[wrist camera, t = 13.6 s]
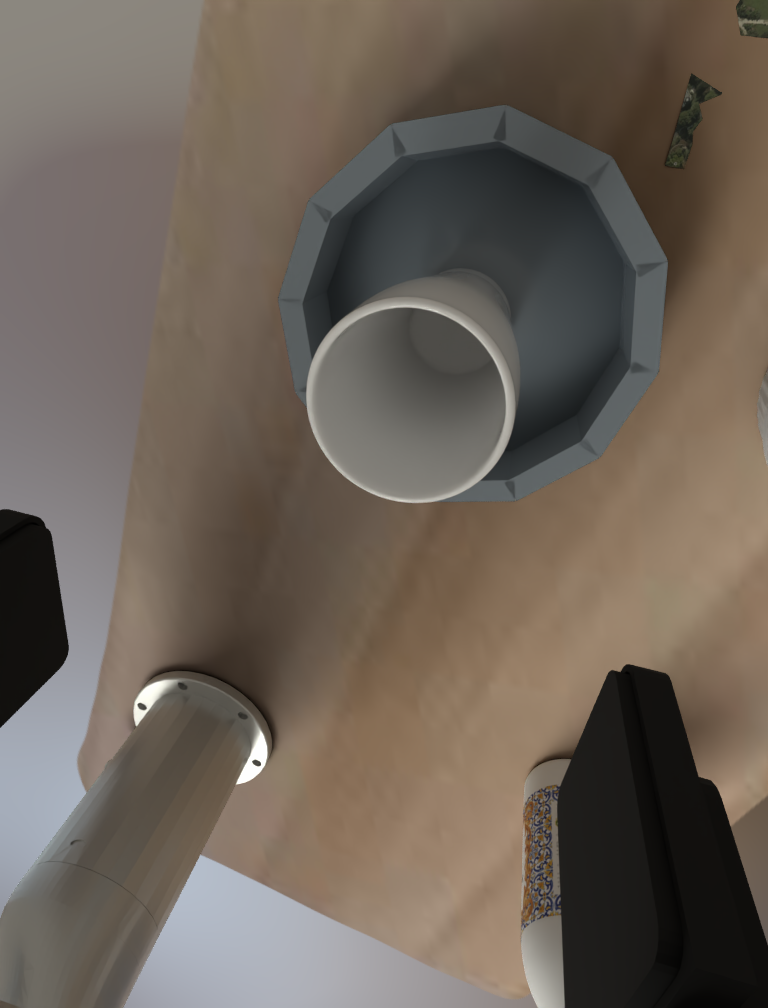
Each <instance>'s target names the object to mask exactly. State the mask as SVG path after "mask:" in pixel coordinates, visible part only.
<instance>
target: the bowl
mask: <svg viewBox="0 0 768 1008" xmlns="http://www.w3.org/2000/svg"><path fill="white" fill-rule="evenodd" d="M455 268H467V269H473V270H476V271H479V272H481V273H483V274H485V275H487V276H489V277H490V278H491V279H493V280H494V281H495V282H496V283H497V284H498V285H499V286H500V288H501V289H502V290H503V292H504V293H505V295H506V297H507V300H508V302H509V305H510V309H511V316H512V327H513V330H514V334H515V337H516V341H517V345H518V349H519V355H520V363H521V389H520V397H519V404H518V409H517V413H516V417H515V421H514V426H513V430H512V434H511V436H510V439H509V442H508V444H507V446H506V448H505V450H504V453H503V454H502V456H501V457H500V459H499V461H498V462H497V463H496V464H495V466H494V467H493V468H492V469H491V471H490V472H489V473H488V474H487V475H486V476H485V477H484V478H482V479H481V480H480V481H479V482H478V483H476V484H475V485H473V486H472V487H471V488H469V489H467V490H465V491H463V492H462V493H459V494H457V495H455V496H453V497H449V498H446V499H443V500H439V501H434V502H480V501H515V500H516V501H517V500H519V499H521V498H523V497H525V496H527V495H529V494H531V493H533V492H535V491H536V490H538V489H540V488H542V487H544V486H546V485H548V484H550V483H552V482H554V481H556V480H558V479H560V478H562V477H564V476H565V475H567V474H569V473H571V472H573V471H575V470H577V469H579V468H581V467H583V466H585V465H587V464H589V463H591V462H592V461H594V460H596V459H598V458H599V457H601V455H602V454H603V452H604V451H605V450H606V448H607V447H608V445H609V444H610V442H611V441H612V439H613V438H614V437H615V435H616V434H617V432H618V431H619V429H620V428H621V426H622V425H623V424H624V422H625V421H626V419H627V418H628V416H629V415H630V413H631V412H632V411H633V409H634V408H635V406H636V405H637V403H638V402H639V400H640V399H641V397H642V396H643V395H644V393H645V392H646V390H647V389H648V387H649V386H650V384H651V383H652V382H653V380H654V379H655V377H656V376H657V374H658V372H659V364H660V352H661V340H662V328H663V316H664V304H665V292H666V280H667V268H668V261H667V258H666V256H665V254H664V252H663V250H662V248H661V246H660V245H659V243H658V241H657V239H656V237H655V235H654V233H653V231H652V230H651V228H650V226H649V224H648V222H647V220H646V218H645V216H644V215H643V213H642V211H641V209H640V207H639V205H638V203H637V201H636V200H635V198H634V196H633V194H632V192H631V190H630V188H629V186H628V185H627V183H626V181H625V179H624V177H623V175H622V173H621V171H620V170H619V168H618V166H617V164H616V162H615V160H614V158H612V156H610V155H608V154H606V153H604V152H602V151H600V150H598V149H596V148H594V147H592V146H589V145H587V144H585V143H583V142H581V141H579V140H577V139H575V138H573V137H571V136H569V135H567V134H565V133H563V132H561V131H559V130H557V129H555V128H553V127H551V126H549V125H547V124H545V123H543V122H541V121H539V120H537V119H535V118H533V117H531V116H529V115H527V114H525V113H523V112H521V111H519V110H517V109H515V108H513V107H511V106H509V105H507V106H506V105H500V106H494V107H488V108H482V109H476V110H470V111H464V112H458V113H452V114H446V115H440V116H434V117H428V118H422V119H416V120H410V121H405V122H399V123H393V124H392V125H391V124H390V125H389V126H388V127H387V128H386V129H385V130H384V131H383V132H381V133H380V134H379V135H378V136H377V137H376V138H375V139H374V140H373V141H372V142H371V143H370V144H368V145H367V146H366V147H365V148H364V149H363V150H362V151H361V152H360V153H359V154H358V155H357V156H355V157H354V158H353V159H352V160H351V161H350V162H349V163H348V164H347V165H346V166H345V167H344V168H343V169H341V170H340V171H339V172H338V173H337V174H336V175H335V176H334V177H333V178H332V179H331V180H330V181H328V182H327V183H326V184H325V185H324V186H323V187H322V188H321V189H320V190H319V191H318V192H317V193H315V194H314V195H313V196H312V197H311V198H310V199H309V200H308V204H307V207H306V210H305V213H304V216H303V220H302V223H301V226H300V229H299V233H298V236H297V239H296V242H295V245H294V249H293V252H292V255H291V258H290V261H289V265H288V268H287V271H286V274H285V278H284V281H283V284H282V287H281V290H280V294H279V297H278V302H279V308H280V313H281V319H282V324H283V329H284V335H285V340H286V345H287V351H288V356H289V362H290V367H291V372H292V378H293V383H294V389H295V392H296V394H297V396H298V397H299V398H300V400H301V401H302V402H303V403H304V405H305V406H306V407H307V404H306V387H307V379H308V373H309V370H310V366H311V363H312V360H313V358H314V355H315V353H316V351H317V349H318V347H319V345H320V344H321V342H322V340H323V339H324V337H325V336H326V335H327V334H328V332H329V331H330V330H331V329H332V328H333V327H334V326H335V325H336V324H337V323H338V322H339V321H340V320H341V319H343V318H344V317H345V316H346V315H347V314H348V313H349V312H351V311H352V310H353V309H354V308H356V307H357V306H358V305H359V304H361V303H362V302H363V301H365V300H366V299H368V298H370V297H371V296H373V295H374V294H376V293H378V292H380V291H382V290H384V289H386V288H388V287H390V286H392V285H395V284H397V283H400V282H403V281H406V280H410V279H414V278H419V277H426V276H432V275H436V274H438V273H440V272H442V271H445V270H449V269H455Z"/></svg>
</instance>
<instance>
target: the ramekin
mask: <svg viewBox="0 0 768 1008" xmlns="http://www.w3.org/2000/svg"><path fill="white" fill-rule="evenodd" d="M757 407H758V412H757V418H758V427H759V430H760V433H761V437H762V440H763V449H764V455H765V459H766V463H767V465H768V370H767V372H766V374H765V376H764V378H763V381H762V385H761V388H760V390H759V399H758V402H757Z"/></svg>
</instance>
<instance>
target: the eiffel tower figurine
mask: <svg viewBox="0 0 768 1008" xmlns="http://www.w3.org/2000/svg"><path fill="white" fill-rule="evenodd" d="M736 9H737V15H738V22H739V28H740V34H741V35H742V36H752V37H761V38H768V0H740V1H739V3H738V4H737V6H736ZM721 94H722V92H720V91H718V90H717V89H715V88H713V87H712V86H710V85H709V84H707V83H706V82H704V81H703V80H701V79H699V78H698V77H696V76H695V75H693V74H692V73H691V76H690V80H689V84H688V87H687V91H686V94H685V98H684V102H683V105H682V109H681V113H680V116H679V120H678V123H677V127H676V130H675V134H674V138H673V141H672V144H671V148H670V151H669V154H668V158H667V161H666V164H665V166H671V167H676V168H682V169H684V168H685V165H686V162H687V159H688V156H689V153H690V150H691V147H692V141H693V131H694V130H695V128H696V127H697V126H698V124H699V123H700V122H701V120H702V115H701V110H700V106H699V104H700V103H702V102H705V101H707V100H709V99H712V98H714V97H717V96H719V95H721Z"/></svg>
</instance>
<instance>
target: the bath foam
mask: <svg viewBox="0 0 768 1008" xmlns="http://www.w3.org/2000/svg"><path fill="white" fill-rule="evenodd" d="M570 761H571V759H557V760H551V761H547V762H545V763H542V764H540V765H538V766H537V767H536V768H534V769H533V770H532V771H531V772H530V773H529V775H528V777H527V779H526V781H525V786H524V810H523V857H522V906H521V947H522V958H523V964H524V970H525V974H526V978H527V982H528V985H529V988H530V990H531V993H532V996H533V998H534V1000H535V1002H536V1005H537V1007H538V1008H565V1001H564V976H563V950H562V925H561V899H560V873H559V848H558V822H557V800H558V793H559V789H560V785H561V782H562V780H563V778H564V775H565V773H566V771H567V768H568V766H569V764H570Z"/></svg>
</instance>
